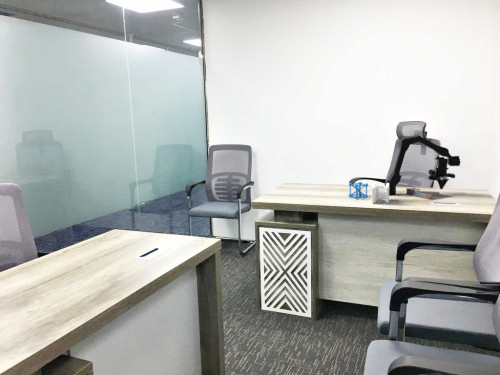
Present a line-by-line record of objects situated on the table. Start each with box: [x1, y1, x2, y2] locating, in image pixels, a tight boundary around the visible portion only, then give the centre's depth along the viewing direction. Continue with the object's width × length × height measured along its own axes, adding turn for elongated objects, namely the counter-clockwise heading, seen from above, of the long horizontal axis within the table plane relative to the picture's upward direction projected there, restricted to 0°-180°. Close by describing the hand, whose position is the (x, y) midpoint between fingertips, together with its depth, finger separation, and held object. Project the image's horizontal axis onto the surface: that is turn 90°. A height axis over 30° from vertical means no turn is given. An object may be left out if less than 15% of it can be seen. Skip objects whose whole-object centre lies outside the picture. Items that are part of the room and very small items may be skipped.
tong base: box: [405, 187, 432, 200], centre depth 270 cm, size 20×6×5 cm, turn 25°
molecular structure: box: [348, 181, 369, 200], centre depth 276 cm, size 10×10×10 cm
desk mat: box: [404, 193, 455, 201], centre depth 273 cm, size 20×25×1 cm
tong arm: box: [415, 190, 440, 196], centre depth 273 cm, size 14×2×2 cm, turn 60°
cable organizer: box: [370, 182, 390, 204], centre depth 259 cm, size 15×11×12 cm
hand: (441, 189), depth 274 cm, fingers closed
